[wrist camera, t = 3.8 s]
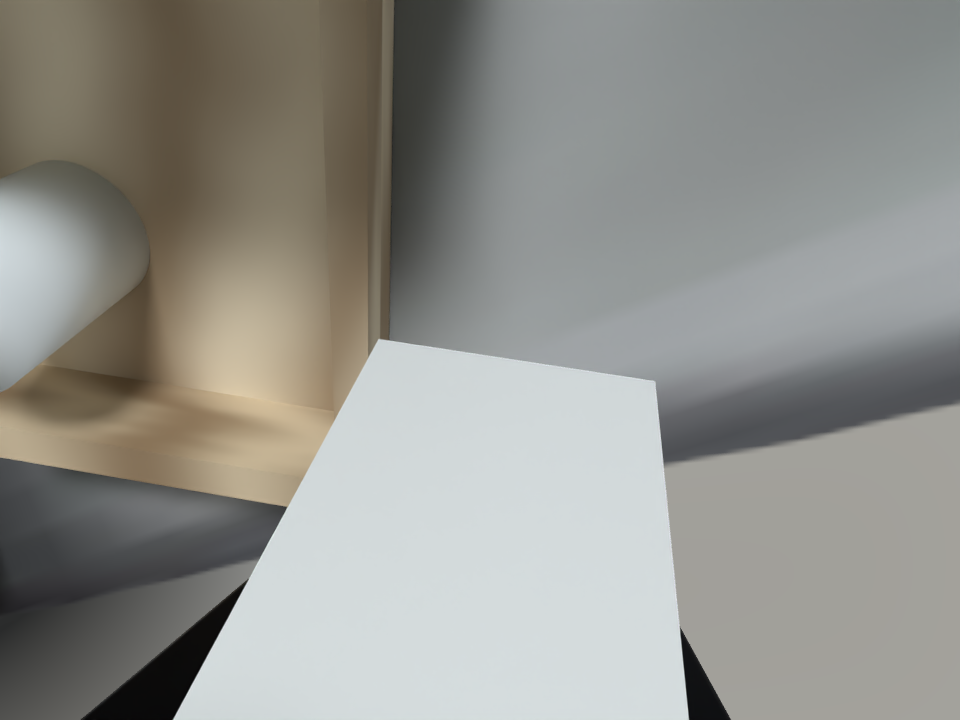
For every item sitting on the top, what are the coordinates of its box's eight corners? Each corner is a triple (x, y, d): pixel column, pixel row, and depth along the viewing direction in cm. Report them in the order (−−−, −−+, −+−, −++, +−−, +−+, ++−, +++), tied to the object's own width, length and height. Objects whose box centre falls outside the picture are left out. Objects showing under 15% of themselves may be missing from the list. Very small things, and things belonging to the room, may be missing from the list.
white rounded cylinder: (31, 287, 21) (-114, 380, 17) (-9, 150, 19) (-187, 219, 14) (160, 306, 20) (46, 407, 16) (135, 170, 18) (-4, 246, 14)
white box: (377, 532, 12) (173, 1079, 7) (378, 338, 10) (76, 900, 4) (604, 572, 12) (600, 1187, 6) (654, 381, 10) (720, 1043, 4)
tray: (40, 373, 24) (-52, 448, 21) (-188, -372, 14) (-434, -461, 11) (387, 429, 23) (350, 517, 20) (398, -330, 13) (329, -413, 10)
